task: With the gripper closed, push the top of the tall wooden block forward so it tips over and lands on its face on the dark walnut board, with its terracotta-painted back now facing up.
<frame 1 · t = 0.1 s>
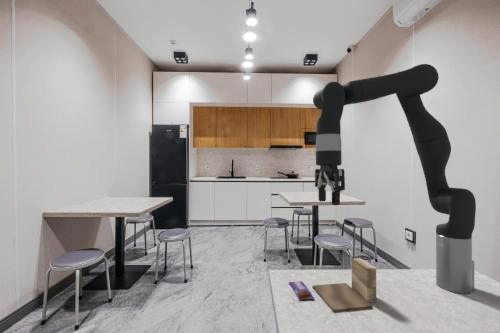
hand: (328, 202, 75), 29 cm above the table, tool pointing down, fingers open, 8 cm apart
walnut board: (340, 296, 75), on the table
snack package: (300, 293, 79), on the table
wooden block: (363, 295, 77), on the table
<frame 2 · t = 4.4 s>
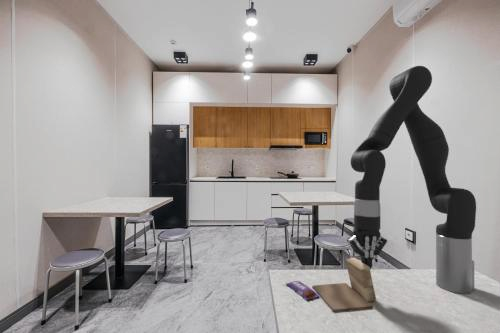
hand: (366, 268, 77), 8 cm above the table, tool pointing down, fingers closed
wooden block: (363, 294, 77), on the table, tilted 12°
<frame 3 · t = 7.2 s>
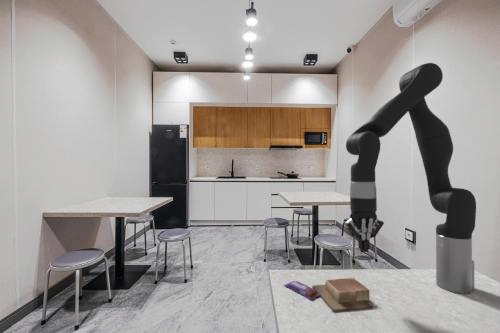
hand: (363, 251, 77), 14 cm above the table, tool pointing down, fingers closed
wooden block: (361, 288, 76), point 2 cm above the table, tilted 90°, touching walnut board
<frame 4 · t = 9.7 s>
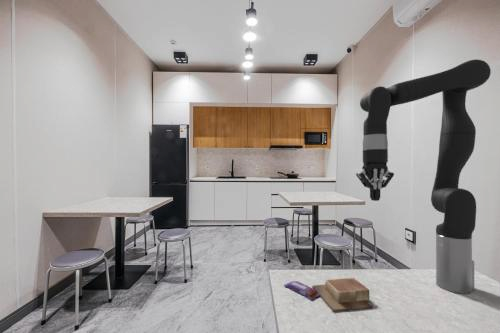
hand: (375, 200, 82), 29 cm above the table, tool pointing down, fingers closed
at the end: wooden block tilted 90°; wooden block inside the target area (1.8 cm from its centre), point 2.1 cm above the table; the gripper is holding nothing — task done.
